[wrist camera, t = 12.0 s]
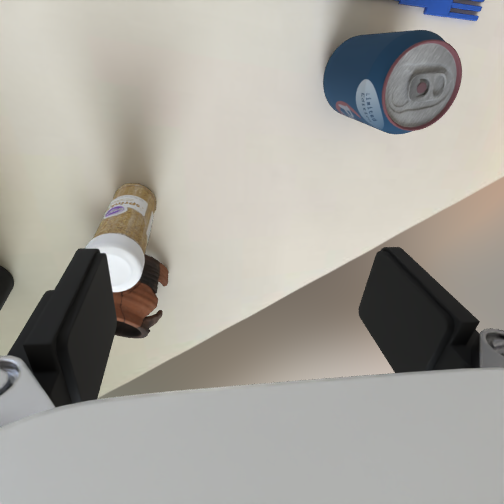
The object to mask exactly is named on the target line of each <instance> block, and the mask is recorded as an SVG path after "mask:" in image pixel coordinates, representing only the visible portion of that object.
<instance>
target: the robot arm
mask: <svg viewBox="0 0 504 504" xmlns="http://www.w3.org/2000/svg"><path fill="white" fill-rule="evenodd" d="M359 316H360V318H361V320H362V321H363V323H364V324H365V326H366V328H367V329H368V331H369V332H370V334H371V336H372V337H373V339H374V340H375V342H376V343H377V345H378V346H379V348H380V350H381V351H382V353H383V354H384V356H385V358H386V359H387V361H388V362H389V364H390V365H391V367H392V368H393V370H394V372H395V373H392V374H379V375H364V376H351V377H339V378H325V379H312V380H300V381H287V382H276V383H263V384H251V385H239V386H228V387H216V388H204V389H192V390H181V391H170V392H159V393H148V394H139V395H130V396H120V397H113V398H104V399H97V398H98V394H99V390H100V386H101V383H102V379H103V375H104V372H105V368H106V364H107V361H108V357H109V353H110V349H111V346H112V342H113V338H114V335H115V331H116V326H117V316H116V310H115V304H114V298H113V291H112V285H111V279H110V273H109V266H108V260H107V255H106V253H100V250H99V249H78V250H77V251H76V253H75V255H74V257H73V258H72V260H71V262H70V264H69V265H68V267H67V269H66V271H65V272H64V274H63V276H62V278H61V279H60V281H59V283H58V285H57V286H56V288H55V290H49V291H47V292H46V293H45V294H44V295H43V297H42V298H41V300H40V302H39V303H38V305H37V307H36V308H35V310H34V312H33V313H32V315H31V317H30V318H29V320H28V322H27V323H26V325H25V327H24V328H23V330H22V332H21V333H20V335H19V336H18V338H17V340H16V341H15V343H14V345H13V346H12V348H11V350H10V351H9V353H8V355H7V356H0V504H504V331H503V330H499V329H491V328H490V329H484V330H483V331H481V332H480V334H479V333H478V332H477V331H476V330H475V329H476V327H477V325H478V324H479V321H478V320H477V319H476V318H475V317H474V316H473V315H472V314H471V313H470V312H469V311H468V310H467V309H466V308H464V307H463V306H462V305H461V304H460V303H459V302H458V301H457V300H456V299H455V298H454V297H453V296H452V295H451V294H449V292H448V291H446V290H445V289H444V288H443V287H442V286H441V285H440V284H439V283H438V282H437V281H436V280H435V279H434V278H432V277H431V276H430V275H429V274H428V273H427V272H426V271H425V270H424V269H423V268H422V267H421V266H420V265H419V264H418V263H416V262H415V261H414V260H413V259H412V258H411V257H410V256H409V255H408V254H407V253H406V252H405V251H404V250H403V249H401V248H400V247H384V248H383V249H382V250H381V251H379V252H378V253H377V254H376V257H375V260H374V263H373V266H372V269H371V272H370V275H369V278H368V281H367V284H366V287H365V291H364V294H363V297H362V300H361V303H360V306H359Z"/></svg>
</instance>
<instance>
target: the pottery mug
mask: <svg viewBox="0 0 504 504" xmlns="http://www.w3.org/2000/svg"><path fill="white" fill-rule="evenodd" d="M144 257H145V263H144V268H143V271H142V275H141V277H140V279H139V281H138V282H137V283H136V284H135V285H134V286H133V287H131V288H130V289H127V290H125V291H121V292H113V298H114V304H115V310H116V316H117V326H116V331H115V335H117V336H122V337H128V338H144V337H146V336H147V335H148V333H149V332H150V330H149V328H150V327H151V326H153V325H154V324H156V323H157V321H158V320H159V319H160V318H161V317H162V310H159V311H158V312H157V313H156V314H154V315H152V316H147V315H149V313H150V312H152V311H153V310H154V309H155V308H156V307H157V303H158V298H157V296H156V295H155V293H157V288H158V287H157V285H158V281H159V282H160V283H161V284H162V285H163V286H167V284H168V273H169V271H168V270H167V268H166V267H165V266H164V265H163V264H162V263H160V262H159V261H157V260H156V259H154V258H153V257H150V256H148V255H146V254H144ZM146 316H147V317H146Z"/></svg>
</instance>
